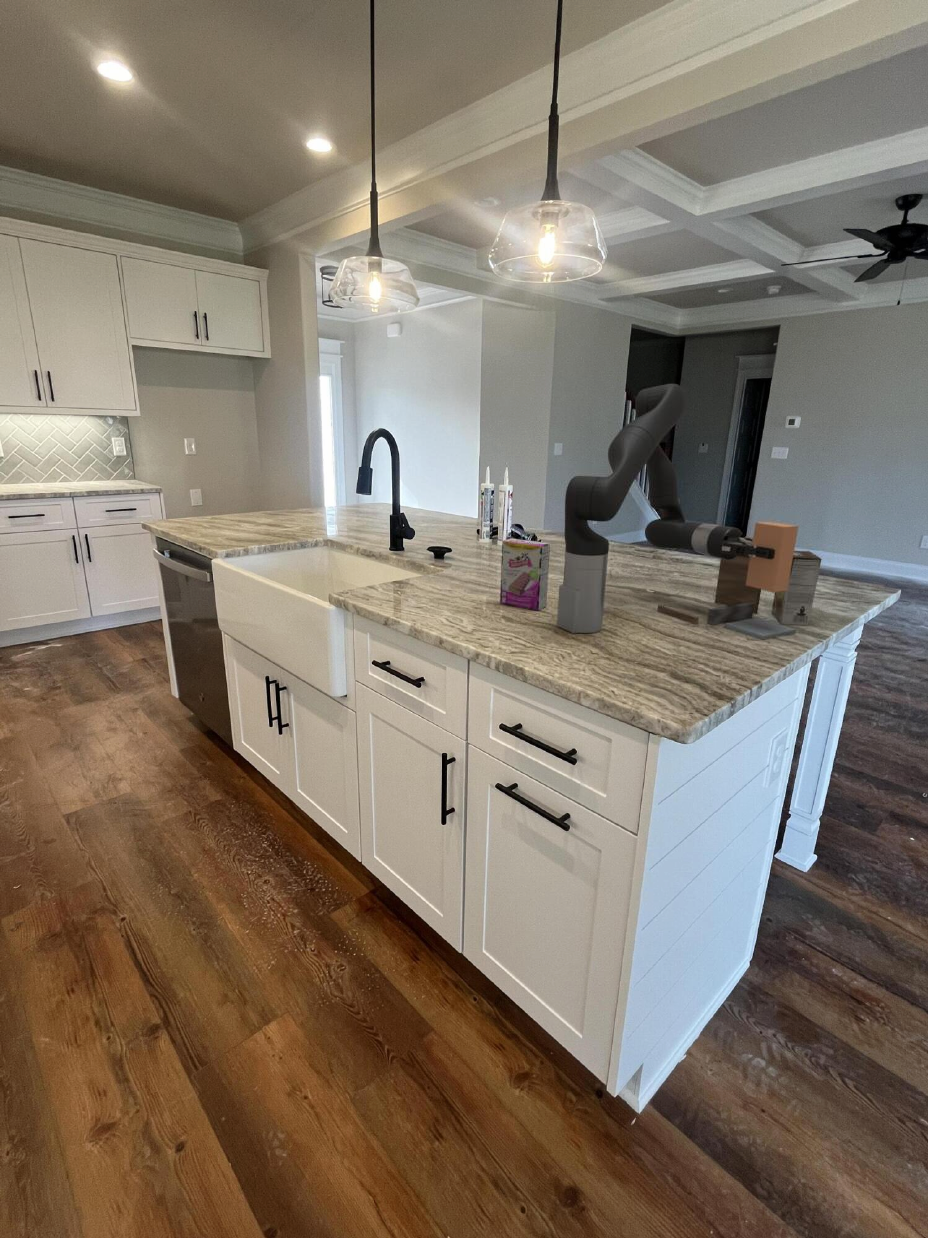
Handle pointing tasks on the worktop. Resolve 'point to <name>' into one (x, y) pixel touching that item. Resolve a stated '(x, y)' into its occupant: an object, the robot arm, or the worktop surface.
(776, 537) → the orange block
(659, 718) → the worktop surface
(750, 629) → the mat
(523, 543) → the candy bar box
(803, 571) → the coffee box
